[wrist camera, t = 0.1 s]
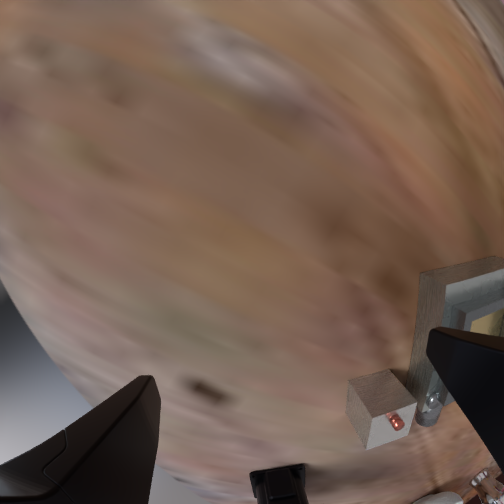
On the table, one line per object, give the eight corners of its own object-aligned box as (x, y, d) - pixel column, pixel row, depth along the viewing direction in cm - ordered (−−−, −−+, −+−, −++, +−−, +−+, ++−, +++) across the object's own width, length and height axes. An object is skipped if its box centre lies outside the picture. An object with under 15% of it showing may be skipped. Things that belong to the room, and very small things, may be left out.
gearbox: (468, 385, 28) (494, 407, 23) (398, 416, 28) (421, 448, 22) (494, 255, 25) (531, 268, 19) (420, 272, 24) (461, 292, 18)
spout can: (383, 400, 27) (413, 442, 20) (345, 412, 27) (370, 458, 20) (388, 368, 26) (424, 409, 19) (348, 379, 26) (378, 427, 19)
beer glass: (491, 466, 39) (517, 497, 24) (472, 484, 40) (497, 516, 25) (483, 466, 38) (512, 500, 23) (463, 486, 38) (489, 521, 24)
